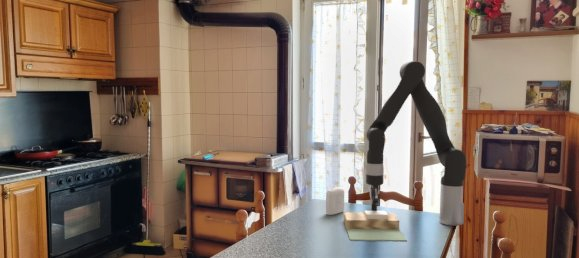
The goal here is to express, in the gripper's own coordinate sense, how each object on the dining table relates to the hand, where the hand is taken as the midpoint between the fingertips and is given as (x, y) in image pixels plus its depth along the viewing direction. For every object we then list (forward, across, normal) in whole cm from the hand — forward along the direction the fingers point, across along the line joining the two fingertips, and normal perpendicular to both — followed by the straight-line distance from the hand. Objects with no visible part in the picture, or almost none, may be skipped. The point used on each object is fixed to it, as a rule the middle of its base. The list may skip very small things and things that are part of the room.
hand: (374, 211), depth 192 cm
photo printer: (+5, +15, +16) cm, 23 cm away
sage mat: (+5, -16, +2) cm, 17 cm away
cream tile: (+1, -4, 0) cm, 5 cm away
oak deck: (+5, -3, +2) cm, 6 cm away
